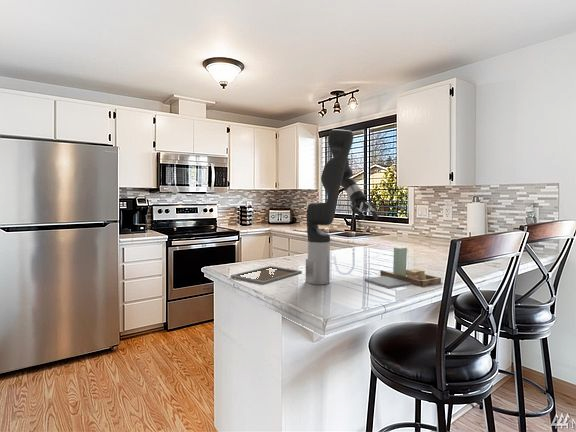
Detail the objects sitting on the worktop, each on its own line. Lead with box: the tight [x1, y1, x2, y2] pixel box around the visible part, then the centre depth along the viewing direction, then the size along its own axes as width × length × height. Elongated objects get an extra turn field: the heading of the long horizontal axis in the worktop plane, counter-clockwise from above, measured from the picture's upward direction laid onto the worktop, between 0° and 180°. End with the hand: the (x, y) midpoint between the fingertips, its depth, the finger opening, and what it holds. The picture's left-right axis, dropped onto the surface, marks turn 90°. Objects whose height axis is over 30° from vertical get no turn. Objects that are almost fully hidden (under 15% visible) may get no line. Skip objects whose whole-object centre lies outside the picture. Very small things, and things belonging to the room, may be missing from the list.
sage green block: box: [392, 246, 408, 277], centre depth 160 cm, size 5×3×13 cm, turn 120°
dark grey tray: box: [230, 265, 303, 285], centre depth 161 cm, size 19×2×30 cm
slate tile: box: [364, 275, 411, 289], centre depth 149 cm, size 12×14×1 cm
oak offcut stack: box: [406, 268, 427, 280], centre depth 153 cm, size 7×5×4 cm
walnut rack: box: [379, 269, 442, 287], centre depth 156 cm, size 12×23×2 cm, turn 30°
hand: (370, 218), depth 177 cm, fingers open, 8 cm apart
